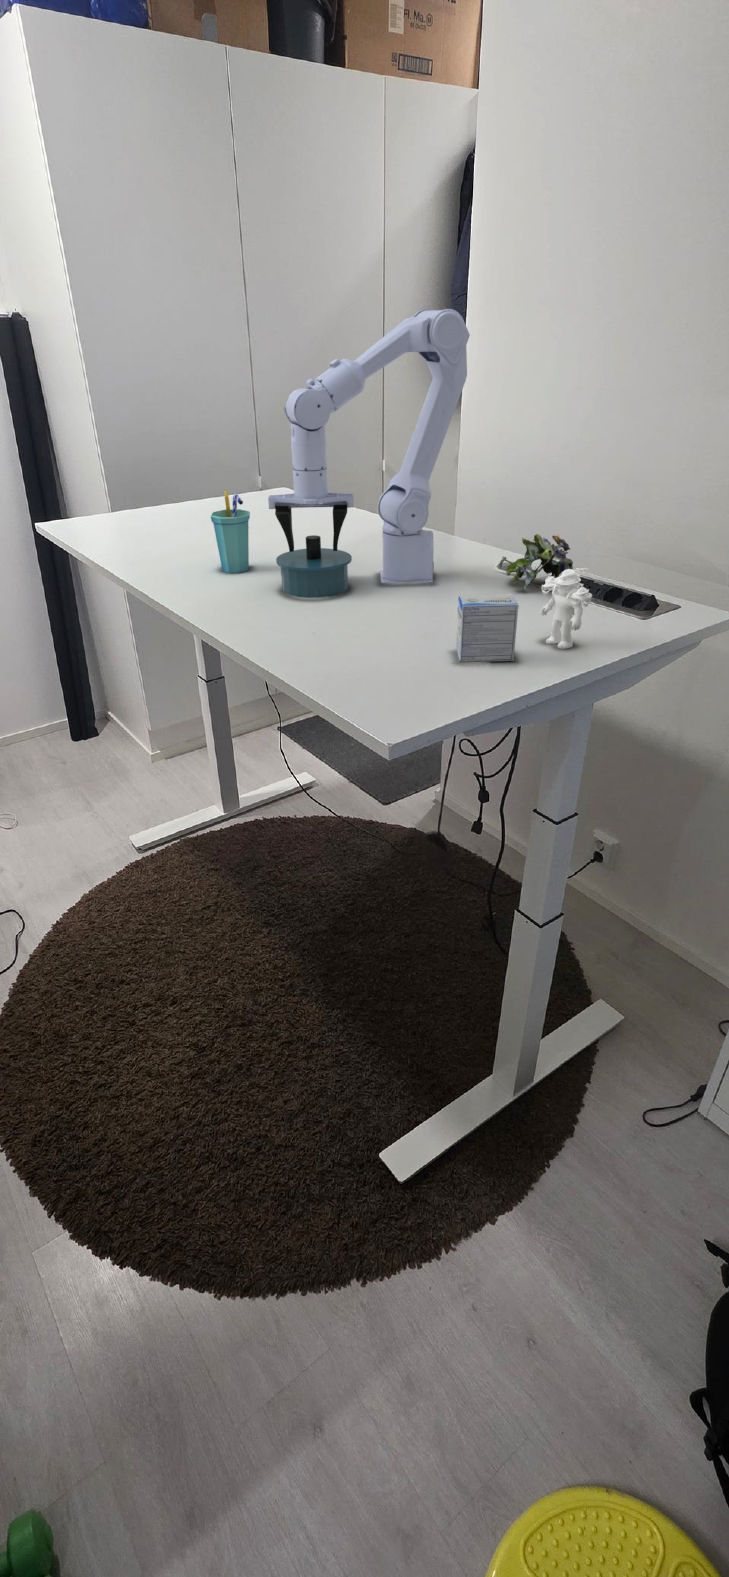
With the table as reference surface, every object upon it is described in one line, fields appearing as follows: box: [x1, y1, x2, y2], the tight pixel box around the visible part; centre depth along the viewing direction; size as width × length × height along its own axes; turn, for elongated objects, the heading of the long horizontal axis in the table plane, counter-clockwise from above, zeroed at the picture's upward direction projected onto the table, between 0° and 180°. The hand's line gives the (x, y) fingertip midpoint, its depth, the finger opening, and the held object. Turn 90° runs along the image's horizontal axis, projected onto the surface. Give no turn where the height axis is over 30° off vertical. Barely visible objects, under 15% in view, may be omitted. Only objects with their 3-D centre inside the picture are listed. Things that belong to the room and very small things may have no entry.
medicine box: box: [455, 593, 520, 664], centre depth 115 cm, size 8×4×9 cm, turn 92°
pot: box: [280, 564, 349, 599], centre depth 146 cm, size 12×12×5 cm
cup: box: [210, 490, 251, 574], centre depth 155 cm, size 14×8×15 cm, turn 25°
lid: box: [275, 534, 353, 571], centre depth 143 cm, size 13×13×5 cm
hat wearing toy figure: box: [540, 566, 593, 650], centre depth 119 cm, size 9×4×12 cm, turn 30°
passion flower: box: [498, 533, 575, 593], centre depth 144 cm, size 11×11×12 cm
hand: (313, 550), depth 143 cm, fingers open, 7 cm apart
